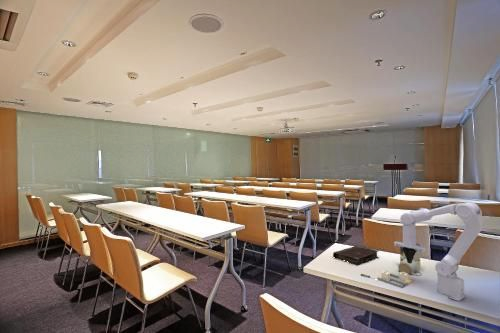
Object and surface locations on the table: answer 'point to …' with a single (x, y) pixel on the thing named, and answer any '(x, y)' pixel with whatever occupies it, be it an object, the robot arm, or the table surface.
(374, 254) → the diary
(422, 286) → the table surface
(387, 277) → the tab
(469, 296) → the table surface
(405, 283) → the switch bank
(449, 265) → the robot arm
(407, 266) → the ceramic mug
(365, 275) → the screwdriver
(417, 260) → the coffee can
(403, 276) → the tab
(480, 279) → the table surface
